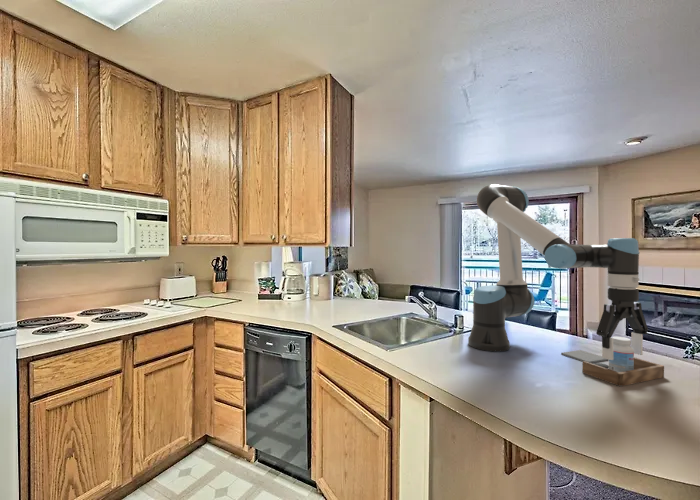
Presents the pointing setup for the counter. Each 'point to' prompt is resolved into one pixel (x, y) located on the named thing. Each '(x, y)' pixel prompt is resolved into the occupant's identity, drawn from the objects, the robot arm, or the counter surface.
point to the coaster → (584, 356)
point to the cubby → (626, 372)
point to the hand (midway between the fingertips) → (622, 356)
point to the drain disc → (602, 365)
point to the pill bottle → (622, 355)
